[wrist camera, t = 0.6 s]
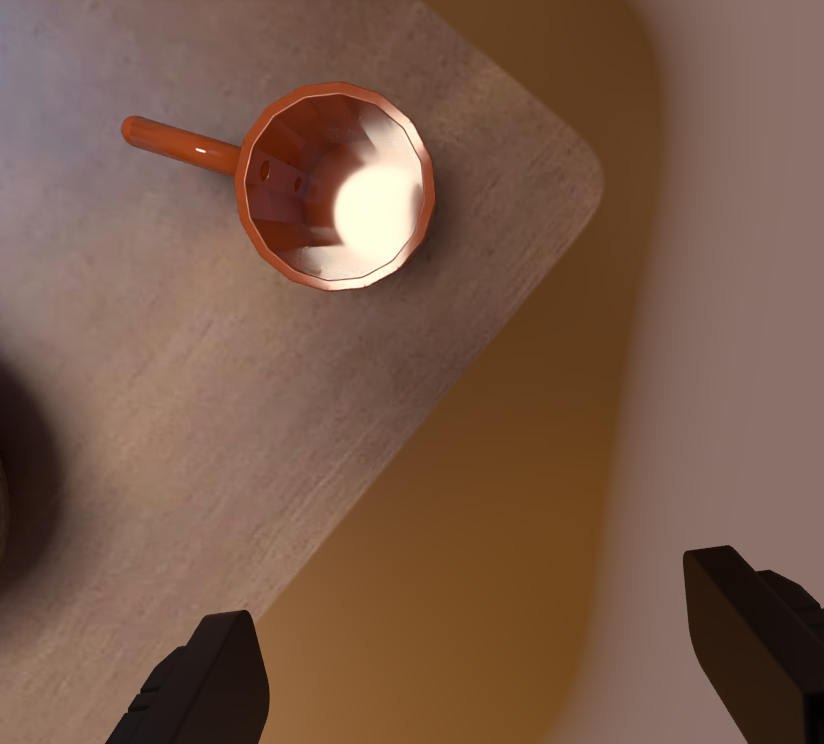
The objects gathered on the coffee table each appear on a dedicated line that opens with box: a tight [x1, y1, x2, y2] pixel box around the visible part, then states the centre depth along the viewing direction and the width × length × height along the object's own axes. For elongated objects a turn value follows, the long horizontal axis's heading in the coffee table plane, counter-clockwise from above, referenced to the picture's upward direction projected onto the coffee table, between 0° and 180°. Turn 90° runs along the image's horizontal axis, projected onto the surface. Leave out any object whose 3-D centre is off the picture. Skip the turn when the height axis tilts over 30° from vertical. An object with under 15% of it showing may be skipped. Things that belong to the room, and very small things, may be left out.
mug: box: [121, 82, 436, 292], centre depth 26 cm, size 12×7×10 cm, turn 73°
